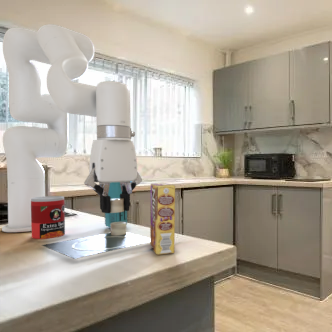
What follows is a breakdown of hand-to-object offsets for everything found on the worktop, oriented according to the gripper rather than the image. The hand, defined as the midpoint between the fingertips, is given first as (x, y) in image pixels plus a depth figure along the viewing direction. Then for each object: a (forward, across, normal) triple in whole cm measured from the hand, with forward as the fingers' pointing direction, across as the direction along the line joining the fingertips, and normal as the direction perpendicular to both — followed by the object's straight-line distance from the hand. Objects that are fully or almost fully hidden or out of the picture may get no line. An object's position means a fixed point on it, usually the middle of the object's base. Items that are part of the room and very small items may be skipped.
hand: (115, 210), depth 78 cm
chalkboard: (+9, +2, -4) cm, 10 cm away
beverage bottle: (+9, -10, -19) cm, 24 cm away
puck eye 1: (0, 0, 0) cm, 0 cm away
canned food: (+9, +6, -23) cm, 26 cm away
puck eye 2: (+8, -6, -10) cm, 14 cm away
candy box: (+9, -5, +11) cm, 15 cm away
